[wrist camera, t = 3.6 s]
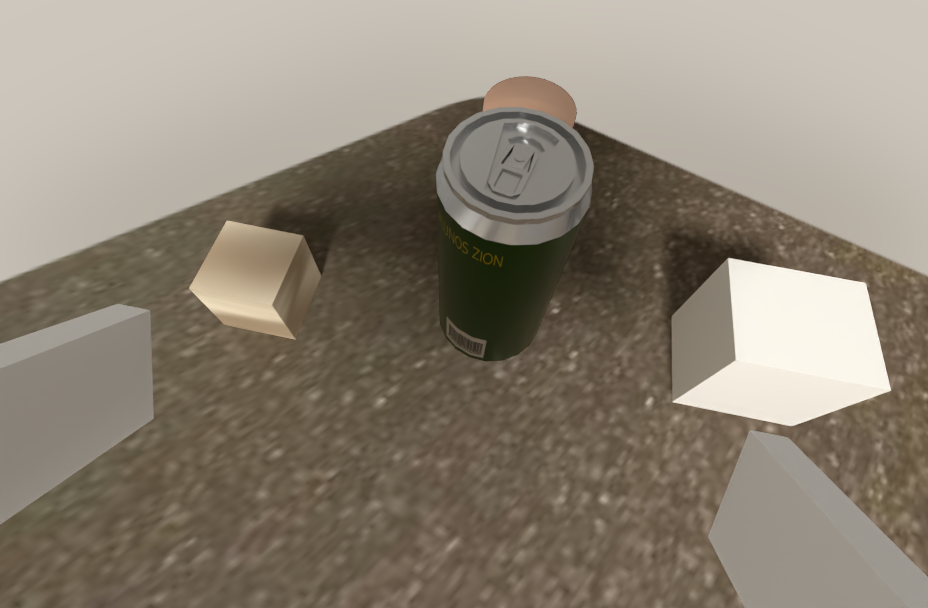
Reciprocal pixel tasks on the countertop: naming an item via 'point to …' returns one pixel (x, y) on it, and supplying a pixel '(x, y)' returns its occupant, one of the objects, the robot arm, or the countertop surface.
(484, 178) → the green soda can
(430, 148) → the countertop surface
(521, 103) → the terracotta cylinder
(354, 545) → the countertop surface
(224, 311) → the birch block
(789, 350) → the off-white plastic box
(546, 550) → the countertop surface
